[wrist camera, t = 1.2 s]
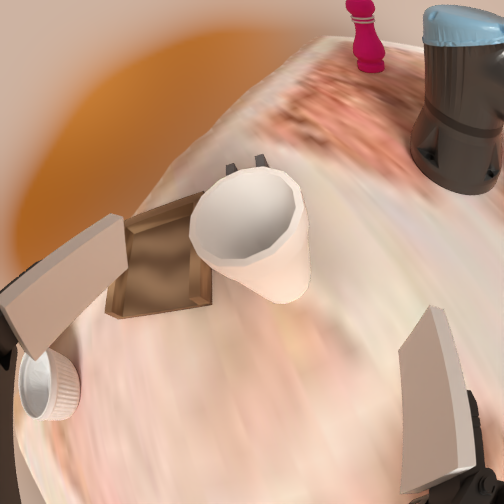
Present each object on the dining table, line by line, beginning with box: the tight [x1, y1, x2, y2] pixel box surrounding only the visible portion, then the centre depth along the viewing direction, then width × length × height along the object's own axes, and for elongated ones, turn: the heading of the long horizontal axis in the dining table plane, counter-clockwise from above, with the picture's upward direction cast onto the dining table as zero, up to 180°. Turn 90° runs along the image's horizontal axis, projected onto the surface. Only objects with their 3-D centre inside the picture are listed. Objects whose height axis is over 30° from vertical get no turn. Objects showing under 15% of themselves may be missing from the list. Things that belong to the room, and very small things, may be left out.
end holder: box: [105, 191, 212, 319], centre depth 38 cm, size 16×16×3 cm
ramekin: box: [19, 347, 80, 421], centre depth 32 cm, size 13×13×7 cm
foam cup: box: [189, 166, 311, 304], centre depth 27 cm, size 10×9×13 cm
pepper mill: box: [346, 0, 385, 73], centre depth 39 cm, size 7×7×20 cm
